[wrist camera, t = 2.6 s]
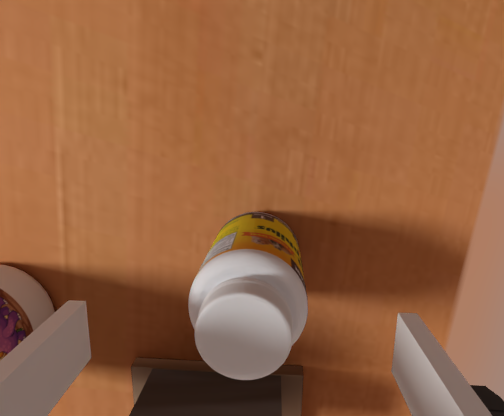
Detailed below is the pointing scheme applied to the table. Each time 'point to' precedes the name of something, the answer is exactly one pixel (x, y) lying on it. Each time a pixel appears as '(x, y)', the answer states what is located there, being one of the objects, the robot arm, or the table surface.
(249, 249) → the supplement bottle
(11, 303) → the milk bottle
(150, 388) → the clamp block
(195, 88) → the table surface
